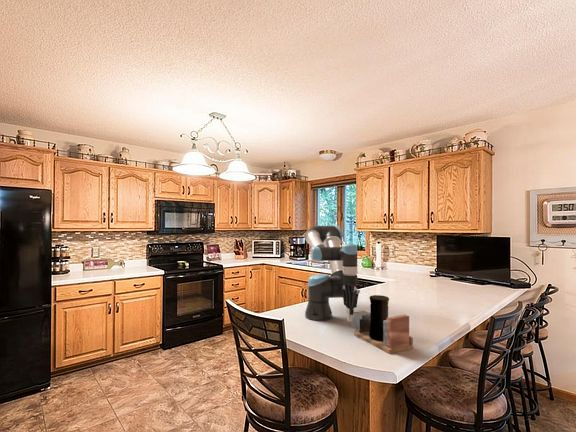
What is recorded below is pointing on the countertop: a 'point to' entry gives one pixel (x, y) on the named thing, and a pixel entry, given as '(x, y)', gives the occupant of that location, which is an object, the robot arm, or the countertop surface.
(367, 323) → the bookend
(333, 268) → the robot arm
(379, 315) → the container
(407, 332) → the rack
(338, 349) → the countertop surface
